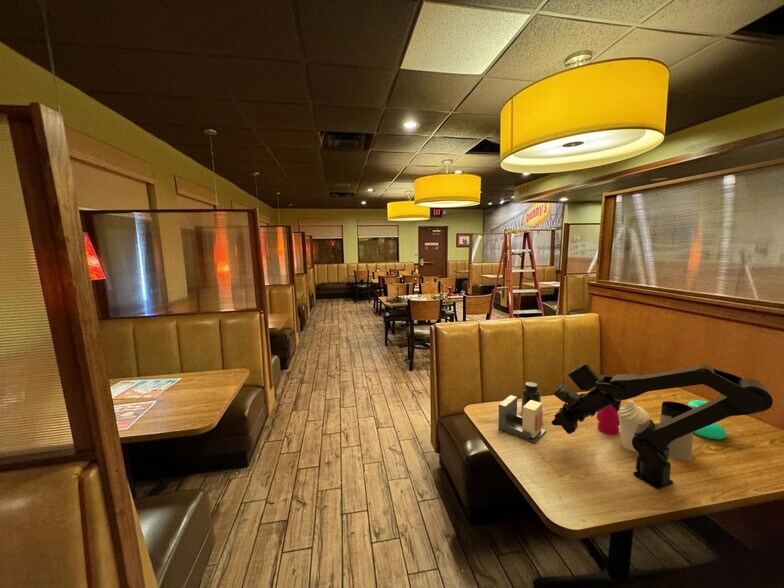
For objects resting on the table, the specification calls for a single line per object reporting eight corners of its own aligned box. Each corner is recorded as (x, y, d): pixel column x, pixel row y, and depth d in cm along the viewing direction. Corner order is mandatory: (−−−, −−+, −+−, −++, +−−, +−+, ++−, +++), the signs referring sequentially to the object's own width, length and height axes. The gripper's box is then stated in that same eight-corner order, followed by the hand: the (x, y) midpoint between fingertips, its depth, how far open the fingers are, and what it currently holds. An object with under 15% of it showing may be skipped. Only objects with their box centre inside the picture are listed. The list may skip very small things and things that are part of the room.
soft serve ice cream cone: (645, 444, 103) (648, 398, 101) (650, 459, 96) (653, 409, 94) (614, 437, 108) (616, 393, 106) (616, 451, 100) (619, 403, 99)
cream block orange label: (543, 430, 111) (544, 403, 110) (535, 439, 106) (536, 411, 105) (530, 425, 114) (530, 399, 113) (522, 433, 110) (522, 406, 108)
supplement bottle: (521, 407, 130) (521, 380, 129) (539, 410, 128) (540, 381, 127) (521, 415, 124) (522, 386, 123) (540, 418, 122) (541, 388, 120)
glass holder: (649, 447, 102) (652, 403, 100) (676, 437, 107) (679, 395, 105) (682, 463, 94) (686, 416, 92) (709, 451, 99) (714, 406, 97)
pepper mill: (624, 436, 108) (628, 381, 106) (601, 435, 109) (604, 380, 107) (614, 425, 115) (617, 373, 113) (592, 424, 116) (595, 372, 114)
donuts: (734, 407, 106) (721, 415, 101) (731, 435, 107) (719, 444, 102) (695, 396, 115) (682, 403, 110) (692, 422, 116) (680, 429, 111)
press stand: (545, 432, 112) (546, 405, 111) (535, 444, 105) (536, 416, 104) (510, 419, 121) (510, 395, 120) (498, 430, 114) (498, 404, 113)
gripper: (580, 371, 106) (544, 393, 115) (563, 389, 93) (524, 412, 102) (606, 400, 102) (567, 421, 111) (592, 423, 88) (549, 444, 98)
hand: (552, 423), depth 105 cm, fingers closed
